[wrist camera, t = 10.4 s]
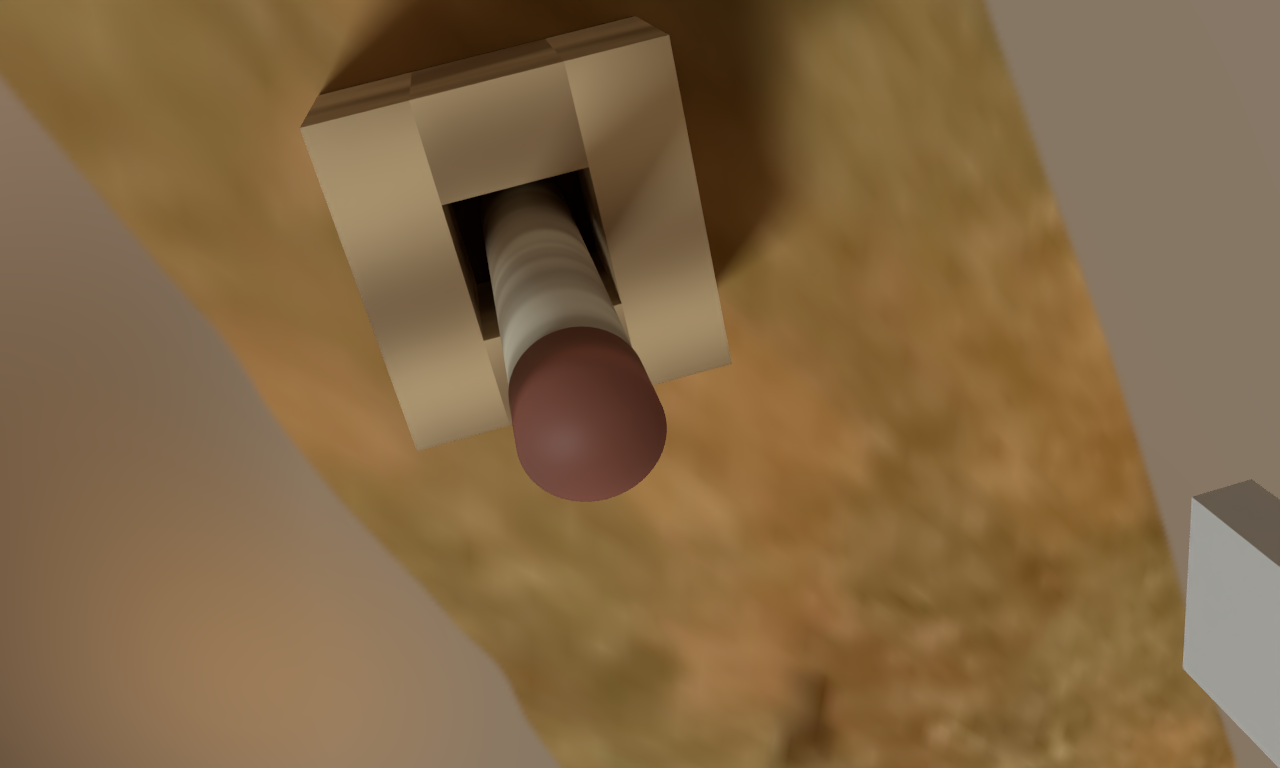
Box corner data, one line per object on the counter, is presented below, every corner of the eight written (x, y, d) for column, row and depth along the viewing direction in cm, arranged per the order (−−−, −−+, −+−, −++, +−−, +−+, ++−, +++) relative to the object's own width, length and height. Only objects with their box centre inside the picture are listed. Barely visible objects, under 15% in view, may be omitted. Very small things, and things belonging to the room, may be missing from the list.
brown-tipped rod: (467, 179, 33) (497, 390, 19) (554, 156, 33) (649, 348, 19) (491, 262, 34) (537, 518, 20) (575, 240, 35) (679, 478, 20)
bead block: (318, 95, 31) (299, 127, 27) (635, 16, 32) (668, 34, 27) (418, 382, 36) (417, 450, 31) (694, 306, 36) (731, 363, 32)
